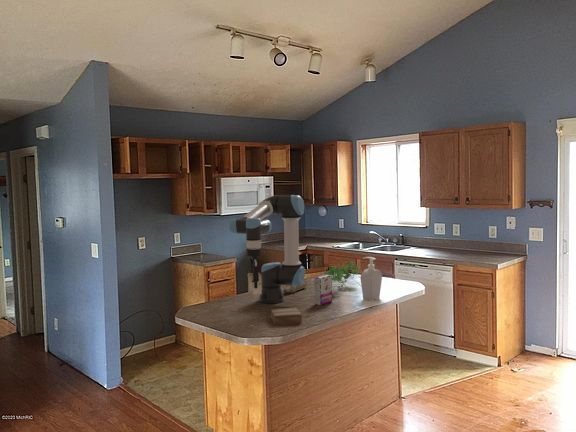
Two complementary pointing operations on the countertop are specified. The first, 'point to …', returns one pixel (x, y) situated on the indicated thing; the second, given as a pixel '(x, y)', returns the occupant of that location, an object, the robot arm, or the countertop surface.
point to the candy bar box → (323, 289)
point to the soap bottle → (371, 281)
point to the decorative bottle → (295, 287)
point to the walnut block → (286, 316)
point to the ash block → (250, 284)
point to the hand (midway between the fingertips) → (254, 292)
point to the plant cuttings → (340, 273)
